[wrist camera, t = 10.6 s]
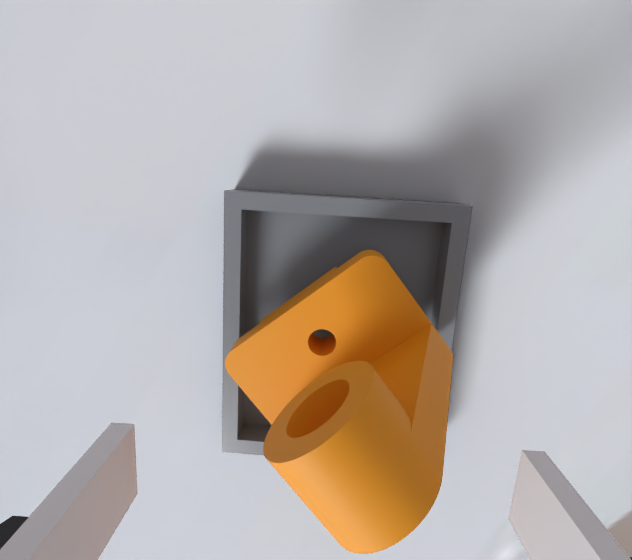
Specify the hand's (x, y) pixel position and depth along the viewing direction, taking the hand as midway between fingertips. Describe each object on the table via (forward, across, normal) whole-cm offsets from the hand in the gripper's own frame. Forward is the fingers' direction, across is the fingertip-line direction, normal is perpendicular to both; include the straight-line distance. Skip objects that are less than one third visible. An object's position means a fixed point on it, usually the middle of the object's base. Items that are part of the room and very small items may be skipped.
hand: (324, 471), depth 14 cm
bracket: (+12, 0, 0) cm, 12 cm away
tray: (+14, +1, 0) cm, 14 cm away
